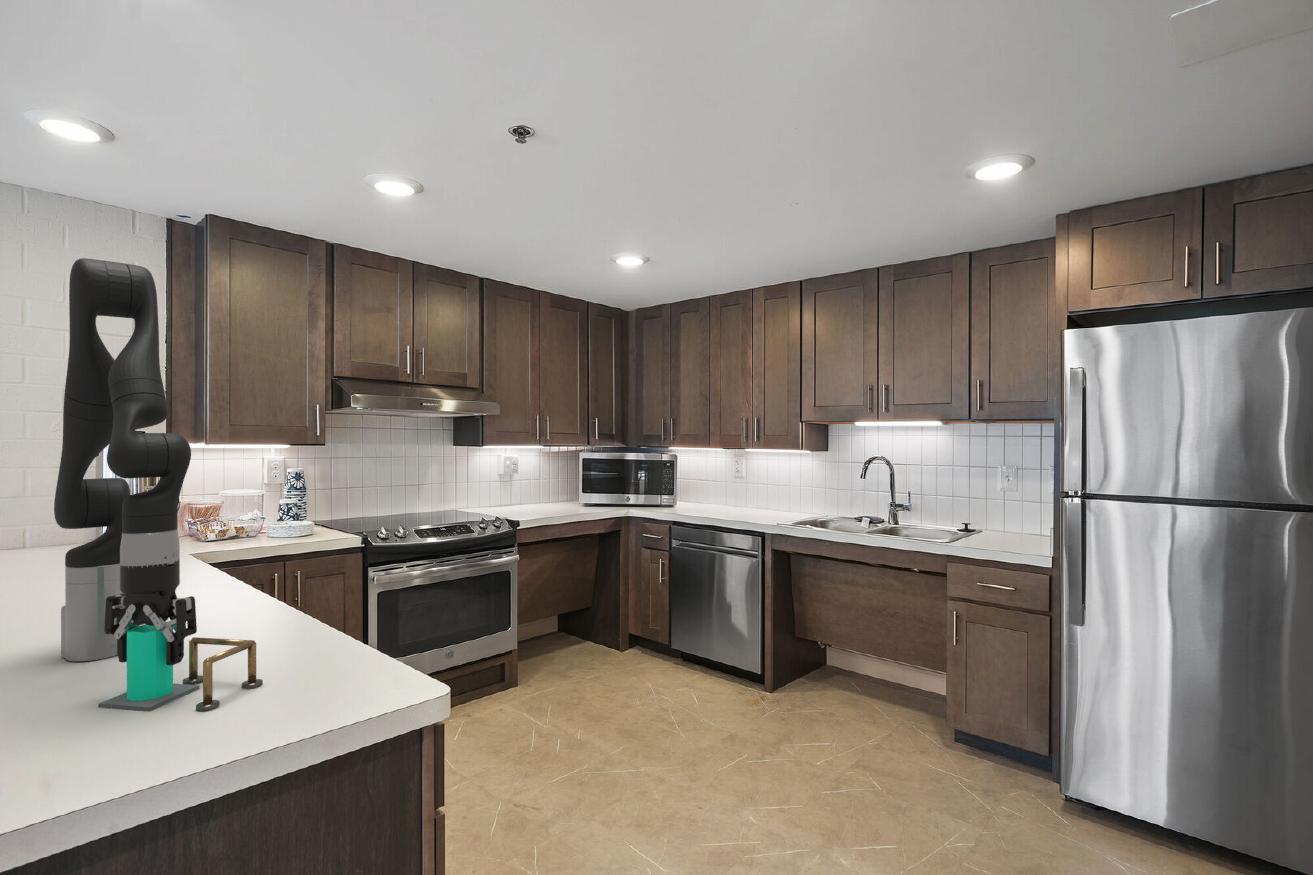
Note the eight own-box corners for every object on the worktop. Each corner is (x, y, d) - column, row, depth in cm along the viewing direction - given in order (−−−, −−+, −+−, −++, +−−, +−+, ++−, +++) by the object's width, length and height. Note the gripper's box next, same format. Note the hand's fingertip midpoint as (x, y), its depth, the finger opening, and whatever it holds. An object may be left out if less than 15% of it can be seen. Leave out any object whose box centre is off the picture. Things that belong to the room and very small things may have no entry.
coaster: (98, 707, 102) (98, 703, 102) (151, 685, 111) (151, 682, 111) (150, 711, 101) (149, 707, 101) (199, 688, 110) (199, 685, 110)
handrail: (127, 706, 103) (127, 657, 103) (193, 678, 114) (192, 634, 114) (208, 712, 100) (208, 661, 100) (266, 682, 112) (266, 638, 112)
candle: (149, 702, 103) (149, 623, 103) (115, 699, 104) (116, 621, 104) (183, 687, 108) (183, 613, 108) (151, 685, 110) (151, 611, 110)
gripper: (88, 562, 103) (88, 668, 103) (169, 565, 101) (169, 673, 101) (133, 554, 111) (133, 652, 111) (209, 556, 109) (210, 656, 109)
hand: (150, 662), depth 106 cm, fingers open, 8 cm apart
